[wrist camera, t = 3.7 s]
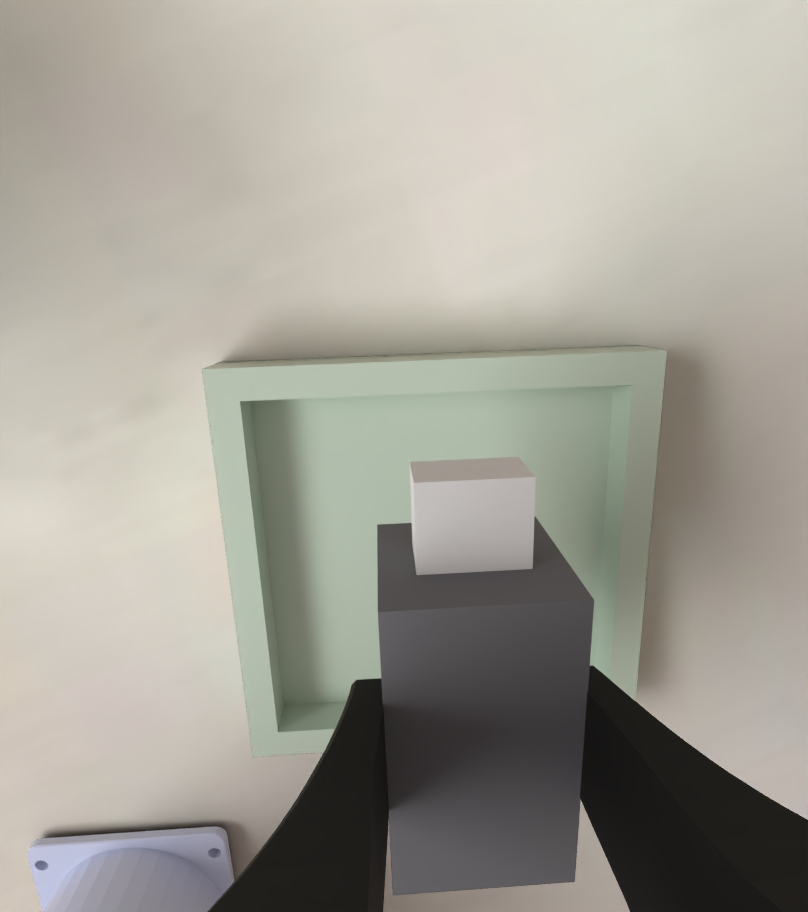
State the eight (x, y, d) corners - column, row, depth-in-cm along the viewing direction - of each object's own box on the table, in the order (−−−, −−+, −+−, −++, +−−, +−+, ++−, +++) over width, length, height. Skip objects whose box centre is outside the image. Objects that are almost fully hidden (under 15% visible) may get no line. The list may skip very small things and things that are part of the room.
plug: (527, 742, 16) (574, 881, 12) (389, 750, 16) (392, 895, 12) (538, 439, 14) (601, 498, 10) (373, 447, 14) (372, 510, 10)
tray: (611, 695, 23) (632, 732, 21) (263, 717, 22) (252, 757, 20) (637, 345, 19) (667, 350, 17) (220, 361, 19) (202, 369, 17)
